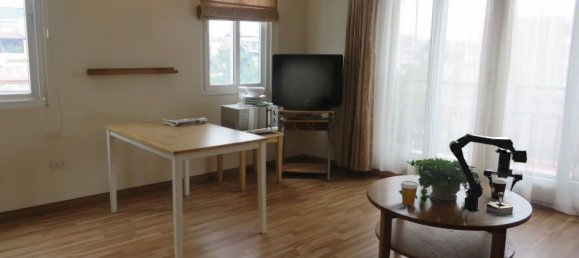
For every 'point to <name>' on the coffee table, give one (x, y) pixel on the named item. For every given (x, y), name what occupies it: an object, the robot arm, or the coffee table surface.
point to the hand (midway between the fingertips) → (501, 190)
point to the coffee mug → (497, 188)
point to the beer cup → (409, 192)
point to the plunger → (500, 197)
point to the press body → (499, 208)
